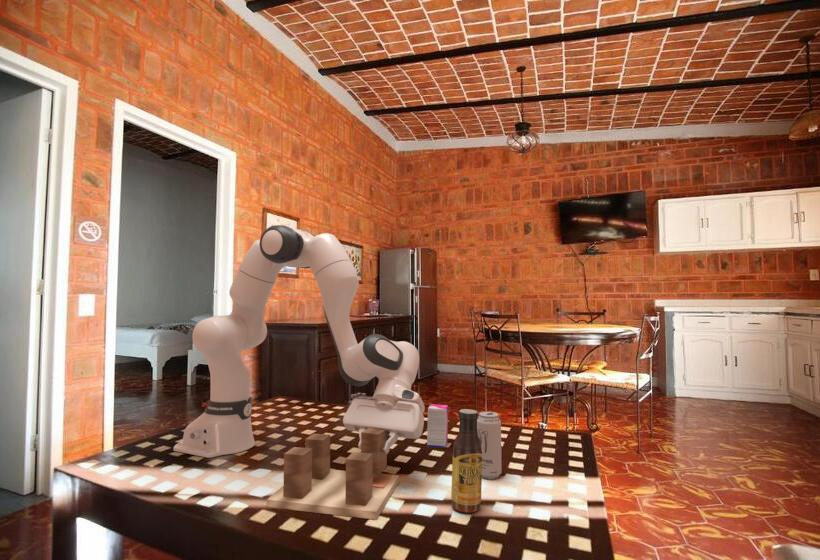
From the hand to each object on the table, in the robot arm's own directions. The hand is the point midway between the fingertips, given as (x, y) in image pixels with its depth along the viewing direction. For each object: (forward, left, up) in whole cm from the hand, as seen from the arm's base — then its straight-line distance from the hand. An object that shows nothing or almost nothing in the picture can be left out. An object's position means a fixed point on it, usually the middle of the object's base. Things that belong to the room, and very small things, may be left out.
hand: (372, 450), depth 98 cm
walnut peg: (0, +1, -5) cm, 5 cm away
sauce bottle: (+22, -4, -9) cm, 24 cm away
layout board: (-7, -4, -9) cm, 12 cm away
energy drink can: (+26, +14, -9) cm, 31 cm away
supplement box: (+10, +34, -9) cm, 36 cm away
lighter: (-22, +53, -9) cm, 58 cm away
